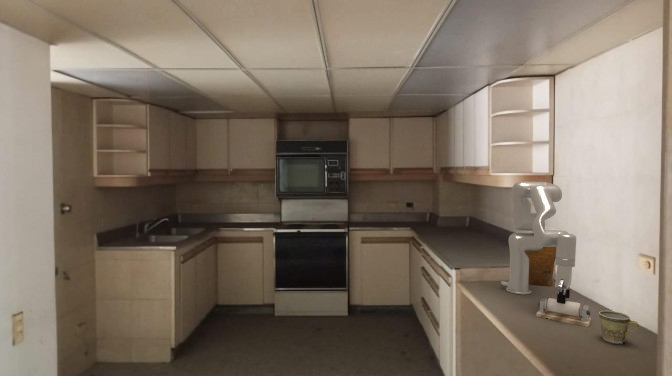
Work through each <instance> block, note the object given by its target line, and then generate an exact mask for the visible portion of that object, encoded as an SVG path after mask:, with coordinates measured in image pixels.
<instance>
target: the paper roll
mask: <svg viewBox="0 0 672 376" xmlns="http://www.w3.org/2000/svg"><path fill="white" fill-rule="evenodd" d="M546 309H547V311H549V312H554V313H559V314H564V315H569V316H575V317H579V316H580V315H581V303H580V302H575V301H569V300H566V302H565V304H561V303H557V298H554V297H553V298H552V297H549V298H548V299H547V302H546Z"/></svg>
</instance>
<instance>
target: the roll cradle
mask: <svg viewBox="0 0 672 376" xmlns="http://www.w3.org/2000/svg"><path fill="white" fill-rule="evenodd" d="M547 302H548V299H547V297H542V298H541V299H540V301H538V306H539V309H538V311H537V312H536V313H535V314H536V315H535V317H536V316H537V317H536V318H540V317H543V318H542V319H545V318H548V319H547V320H550V319H552V321H555V320H556V321H555V322H561V323H565V324H571V325H574V326H575V325H576V326H579V327H580V326H581V327H584V328H585V327H586V328H589V326H590V324H591V322H592V318H591V317H589V316H591V310H589V305H588V304H584V305H583V307H582V311H581V312H582V313H581V314H580V316H579V317H575V316H569V315H564V314H559V313H554V312H549V311H547Z"/></svg>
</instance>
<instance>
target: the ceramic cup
mask: <svg viewBox="0 0 672 376" xmlns="http://www.w3.org/2000/svg"><path fill="white" fill-rule="evenodd" d="M598 316H599V323H600V329H601V335H602V337H601V338H602V339H603V340H604V341H605V342H608V343H611V344H614V343H615V345H617V344H618V345H623V342H624V343H625V339H626V336H627V334H630V333H631V332H633V331H636V330H637V329H639V327H640V326H639V323H638V322H637V321H635V320H631V317H630V316H629V315H628V314H626V313H623V312H620V311H612V310H601V311H599V312H598ZM630 320H631V321H630ZM631 324H636V328H633V329H630V330H628V328H629V326H630V325H631ZM619 343H620V344H619Z"/></svg>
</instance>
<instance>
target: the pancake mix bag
mask: <svg viewBox="0 0 672 376" xmlns="http://www.w3.org/2000/svg"><path fill="white" fill-rule="evenodd" d="M525 253H526V255H527V256H528V258H529V283H528V286H529V285H530V286H541V287H543V286H544V287H553V286H554V281H553V279H554V272H555V262H556V247H543V248H542V249H541V250H539V251H525Z"/></svg>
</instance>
